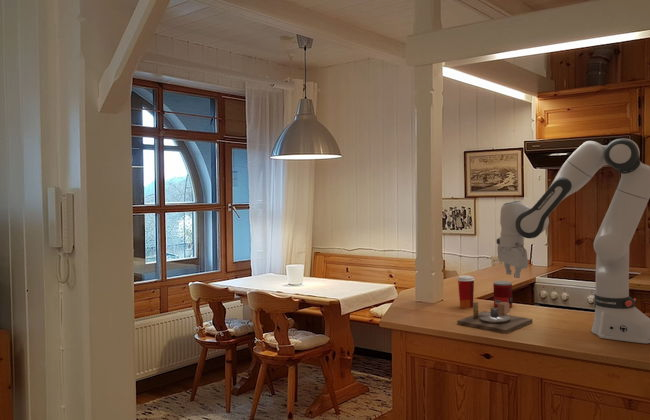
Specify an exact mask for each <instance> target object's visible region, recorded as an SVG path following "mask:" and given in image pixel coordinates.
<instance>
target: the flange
mask: <svg viewBox="0 0 650 420" xmlns="http://www.w3.org/2000/svg"><path fill="white" fill-rule="evenodd" d="M490 312H491V313H483V314H480V315H479V319H480V320H481V321H483V322H488V323H504V322H508V321H510V316H509V315H510V314H509V313H511V312H510V308H509V303H507V302H501V303H498V308H497V307H491V308H490Z"/></svg>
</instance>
